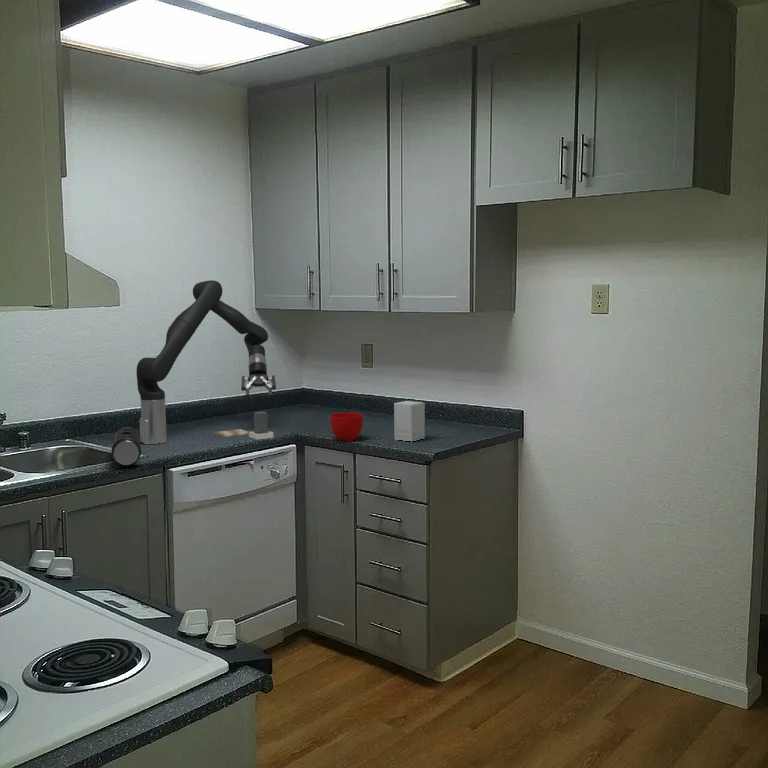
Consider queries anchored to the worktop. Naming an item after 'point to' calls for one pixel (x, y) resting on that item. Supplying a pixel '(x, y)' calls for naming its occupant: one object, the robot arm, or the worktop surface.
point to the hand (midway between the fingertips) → (259, 397)
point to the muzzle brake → (126, 446)
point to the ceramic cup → (346, 425)
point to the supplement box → (409, 421)
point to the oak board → (232, 433)
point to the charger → (260, 422)
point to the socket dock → (261, 435)
